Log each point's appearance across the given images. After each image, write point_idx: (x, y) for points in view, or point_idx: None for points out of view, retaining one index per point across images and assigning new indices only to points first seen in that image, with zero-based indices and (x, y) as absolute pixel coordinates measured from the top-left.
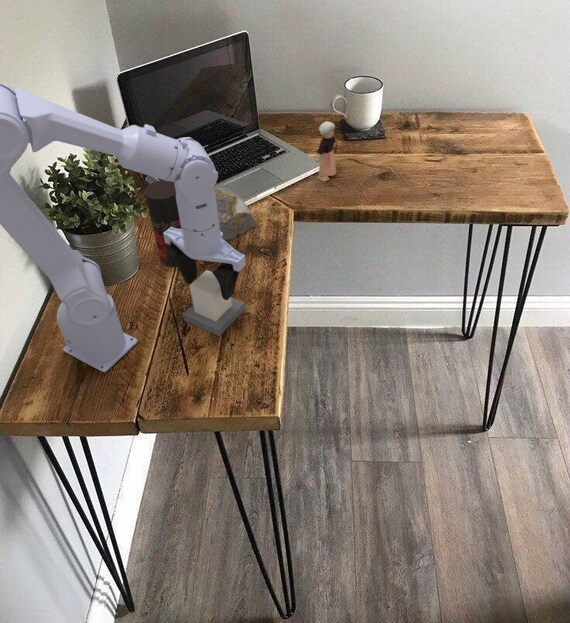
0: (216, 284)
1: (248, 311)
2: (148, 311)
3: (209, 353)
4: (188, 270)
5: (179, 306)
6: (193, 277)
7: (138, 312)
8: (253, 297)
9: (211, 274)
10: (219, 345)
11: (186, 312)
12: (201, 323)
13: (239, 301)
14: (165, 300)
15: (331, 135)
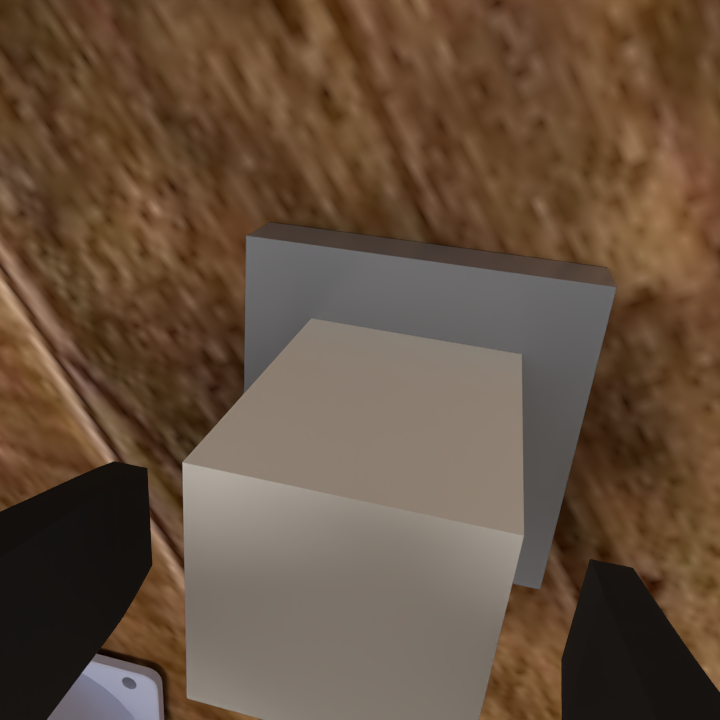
0: (430, 640)
1: (641, 279)
2: (49, 483)
3: (542, 663)
4: (43, 659)
5: (163, 397)
6: (128, 533)
7: (14, 503)
8: (617, 103)
9: (280, 516)
10: (572, 605)
11: None
12: None
13: (561, 286)
14: (59, 379)
15: None
